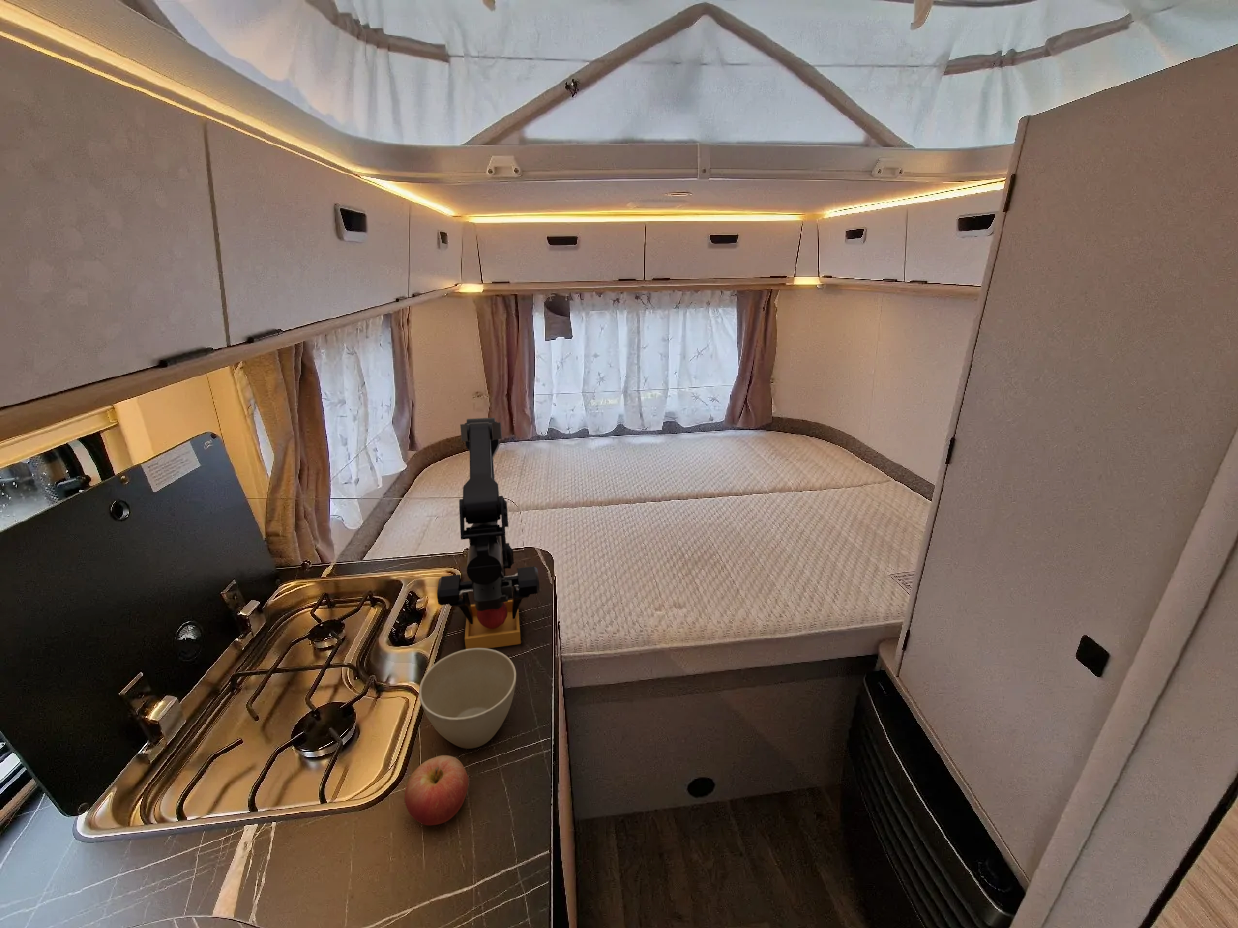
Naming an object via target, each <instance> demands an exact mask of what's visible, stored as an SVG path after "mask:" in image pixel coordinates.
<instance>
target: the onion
mask: <svg viewBox="0 0 1238 928" xmlns="http://www.w3.org/2000/svg"><path fill="white" fill-rule="evenodd" d="M507 613H508V612H507V607H506V605H505V603H504V602H503V605H502V607H501V608H499V609H488V610H484V611H478V610H477V618H478V621H479V622H480V624H481V625H483V626H484V627H486V628H489V629H495V628H497V627H499V626H500V625H502V624H503V623H504V621H505V619H506V617H507Z"/></svg>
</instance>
